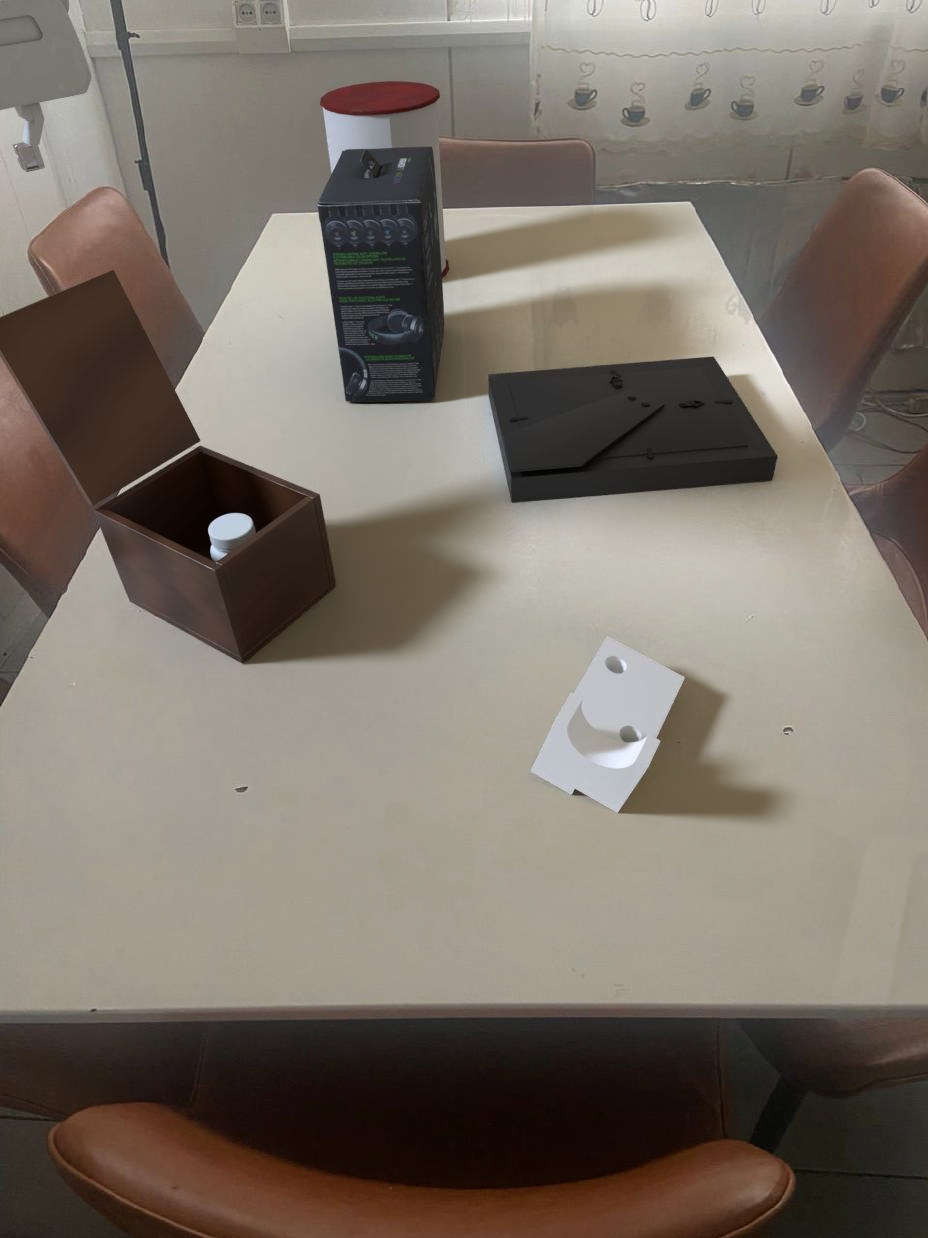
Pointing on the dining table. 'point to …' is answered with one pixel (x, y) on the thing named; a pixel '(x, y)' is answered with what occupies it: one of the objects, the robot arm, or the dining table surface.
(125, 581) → the chest
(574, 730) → the bracket
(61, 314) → the lid
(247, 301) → the dining table surface
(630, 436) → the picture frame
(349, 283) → the headset box
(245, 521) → the pill bottle
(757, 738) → the dining table surface
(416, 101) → the container
